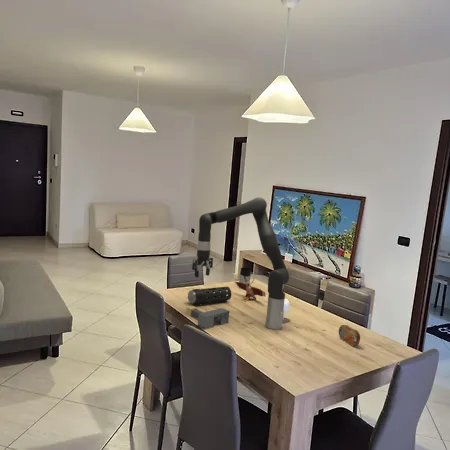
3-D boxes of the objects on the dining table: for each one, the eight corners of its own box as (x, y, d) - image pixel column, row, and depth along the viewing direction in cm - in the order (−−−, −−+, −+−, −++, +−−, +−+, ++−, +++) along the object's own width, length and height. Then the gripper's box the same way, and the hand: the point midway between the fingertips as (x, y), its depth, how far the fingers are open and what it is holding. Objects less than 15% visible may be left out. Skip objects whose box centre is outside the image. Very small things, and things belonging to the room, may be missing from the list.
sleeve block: (228, 322, 233) (229, 311, 232) (204, 329, 220) (206, 316, 219) (220, 319, 237) (221, 308, 236) (197, 325, 224) (198, 313, 223)
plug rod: (210, 321, 234) (210, 313, 233) (204, 322, 231) (205, 314, 230) (191, 312, 245) (192, 305, 244) (185, 314, 241) (186, 306, 241)
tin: (337, 337, 226) (339, 322, 225) (342, 336, 227) (344, 322, 226) (355, 348, 212) (357, 333, 211) (360, 348, 213) (362, 332, 212)
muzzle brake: (231, 303, 269) (232, 288, 268) (193, 308, 254) (195, 291, 253) (223, 299, 277) (224, 284, 276) (186, 303, 262) (187, 287, 260)
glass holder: (244, 286, 315) (246, 266, 314) (257, 290, 305) (259, 271, 303) (235, 287, 310) (237, 267, 308) (248, 292, 299) (250, 272, 297)
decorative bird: (221, 292, 281) (229, 271, 284) (238, 298, 293) (246, 278, 296) (251, 303, 261) (260, 281, 263) (268, 310, 273) (276, 289, 275)
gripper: (208, 246, 245) (206, 273, 246) (190, 248, 234) (188, 276, 236) (217, 248, 239) (215, 276, 241) (199, 250, 229) (197, 279, 231)
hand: (202, 276), depth 238 cm, fingers open, 8 cm apart
